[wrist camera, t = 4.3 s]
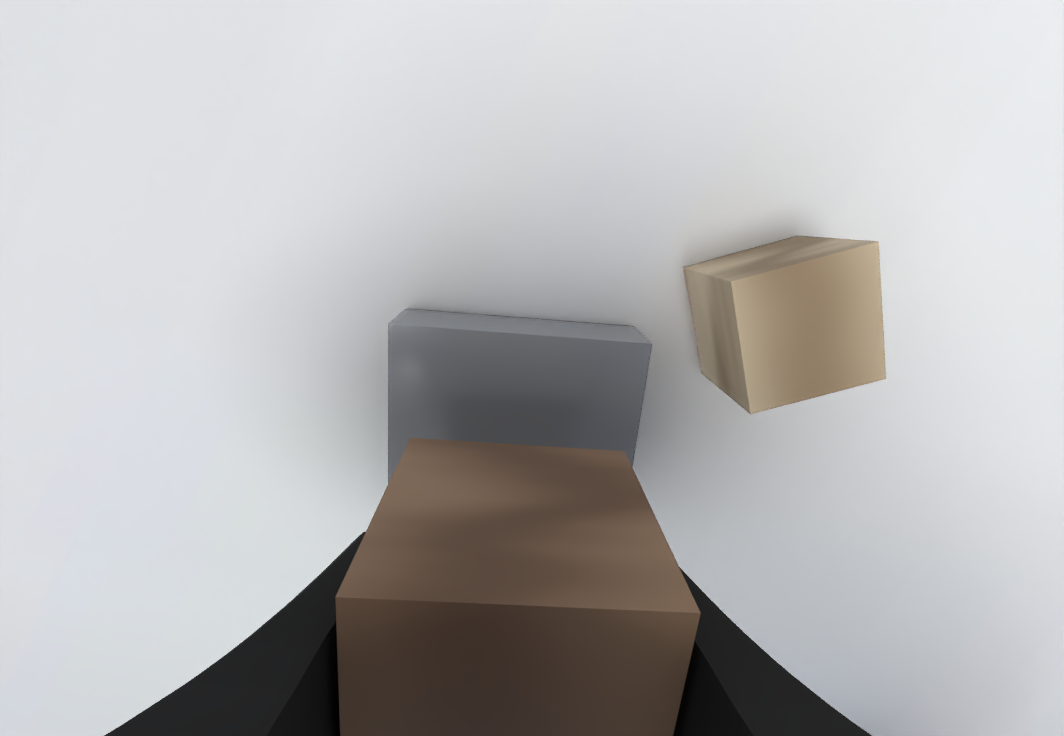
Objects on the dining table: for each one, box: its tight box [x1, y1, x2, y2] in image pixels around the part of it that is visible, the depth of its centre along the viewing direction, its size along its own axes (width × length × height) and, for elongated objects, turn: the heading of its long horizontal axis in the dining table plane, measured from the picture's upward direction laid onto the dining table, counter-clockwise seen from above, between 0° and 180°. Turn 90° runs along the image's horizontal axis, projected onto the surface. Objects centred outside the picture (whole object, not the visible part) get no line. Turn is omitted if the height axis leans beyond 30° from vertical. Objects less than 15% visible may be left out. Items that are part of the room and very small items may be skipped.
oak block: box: [683, 236, 886, 414], centre depth 16 cm, size 4×4×4 cm
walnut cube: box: [335, 438, 701, 736], centre depth 10 cm, size 5×5×5 cm
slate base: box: [388, 309, 652, 484], centre depth 17 cm, size 8×8×2 cm
